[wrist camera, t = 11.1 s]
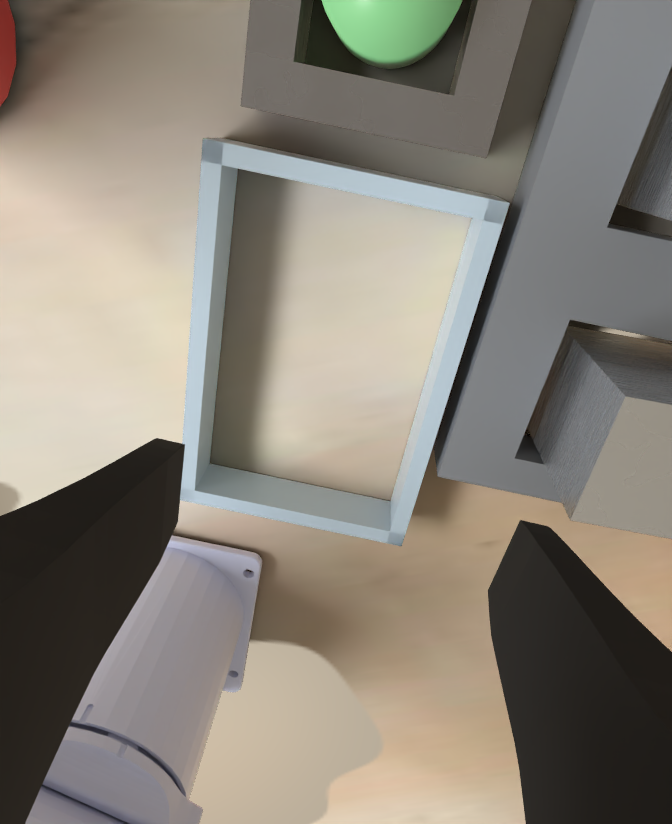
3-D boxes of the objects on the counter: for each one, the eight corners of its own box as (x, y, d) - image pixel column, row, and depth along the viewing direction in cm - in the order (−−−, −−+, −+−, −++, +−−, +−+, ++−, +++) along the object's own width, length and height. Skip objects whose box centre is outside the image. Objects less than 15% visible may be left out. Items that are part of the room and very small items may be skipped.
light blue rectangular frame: (400, 515, 23) (401, 546, 22) (194, 472, 23) (178, 499, 22) (497, 196, 18) (509, 203, 16) (222, 138, 17) (202, 138, 16)
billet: (673, 344, 19) (781, 425, 14) (627, 441, 21) (708, 545, 16) (560, 324, 19) (625, 396, 14) (524, 423, 21) (570, 520, 16)
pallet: (678, 500, 22) (704, 532, 20) (434, 448, 22) (437, 476, 20) (960, 22, 15) (1039, 6, 13) (594, -57, 15) (622, -84, 13)
